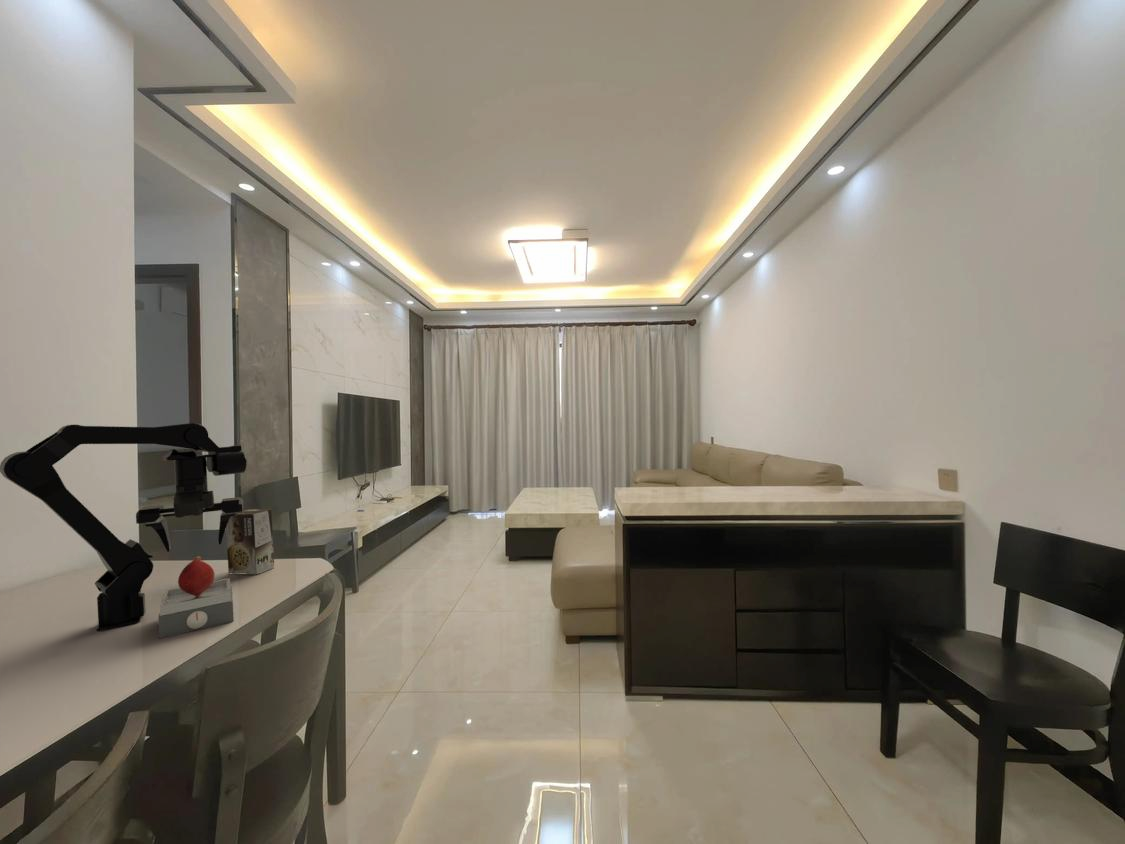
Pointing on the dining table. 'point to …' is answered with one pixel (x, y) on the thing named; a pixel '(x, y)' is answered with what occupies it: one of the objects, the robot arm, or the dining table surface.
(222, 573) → the dining table surface
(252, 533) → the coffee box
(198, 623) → the scale base
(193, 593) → the onion
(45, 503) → the robot arm
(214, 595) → the scale pan
